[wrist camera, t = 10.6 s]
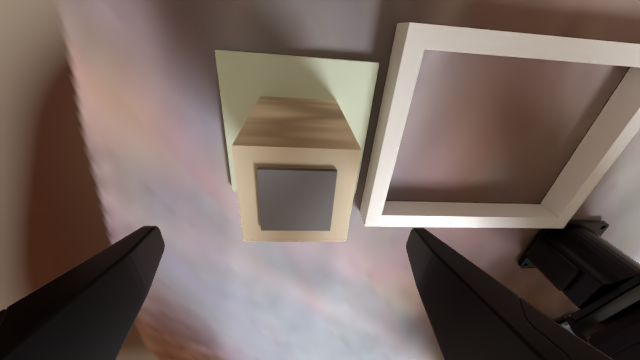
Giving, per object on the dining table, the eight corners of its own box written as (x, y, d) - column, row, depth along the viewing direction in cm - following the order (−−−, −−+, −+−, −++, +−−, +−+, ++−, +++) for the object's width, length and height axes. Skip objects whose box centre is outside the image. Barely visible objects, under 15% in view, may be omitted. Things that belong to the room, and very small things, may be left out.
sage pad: (377, 62, 16) (379, 63, 16) (354, 190, 21) (355, 194, 21) (216, 49, 15) (214, 50, 15) (234, 187, 20) (232, 191, 20)
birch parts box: (336, 100, 17) (362, 152, 10) (329, 166, 19) (346, 244, 12) (260, 96, 16) (230, 147, 9) (264, 164, 19) (242, 244, 12)
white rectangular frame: (659, 47, 17) (700, 49, 15) (544, 214, 24) (563, 228, 23) (397, 22, 15) (409, 22, 13) (359, 211, 22) (364, 226, 21)
